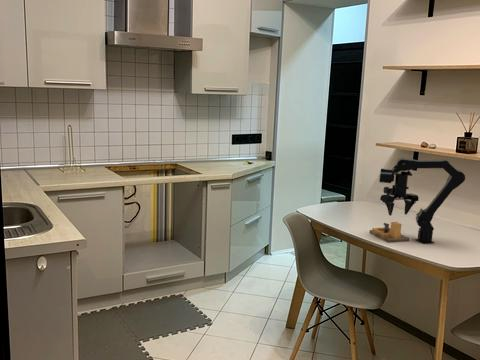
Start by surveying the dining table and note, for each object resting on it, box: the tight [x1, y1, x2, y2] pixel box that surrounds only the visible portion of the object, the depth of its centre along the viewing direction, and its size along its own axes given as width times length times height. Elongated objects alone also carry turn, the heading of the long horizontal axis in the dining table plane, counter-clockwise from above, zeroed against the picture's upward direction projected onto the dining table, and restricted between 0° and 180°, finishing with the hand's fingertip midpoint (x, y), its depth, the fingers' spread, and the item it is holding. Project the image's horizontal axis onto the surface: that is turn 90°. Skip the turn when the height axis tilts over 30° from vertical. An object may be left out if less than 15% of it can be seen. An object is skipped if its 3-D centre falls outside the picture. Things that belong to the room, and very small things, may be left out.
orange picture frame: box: [371, 221, 402, 238], centre depth 236 cm, size 14×10×7 cm
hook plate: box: [369, 222, 410, 244], centre depth 236 cm, size 16×12×6 cm
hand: (397, 215), depth 232 cm, fingers open, 9 cm apart
